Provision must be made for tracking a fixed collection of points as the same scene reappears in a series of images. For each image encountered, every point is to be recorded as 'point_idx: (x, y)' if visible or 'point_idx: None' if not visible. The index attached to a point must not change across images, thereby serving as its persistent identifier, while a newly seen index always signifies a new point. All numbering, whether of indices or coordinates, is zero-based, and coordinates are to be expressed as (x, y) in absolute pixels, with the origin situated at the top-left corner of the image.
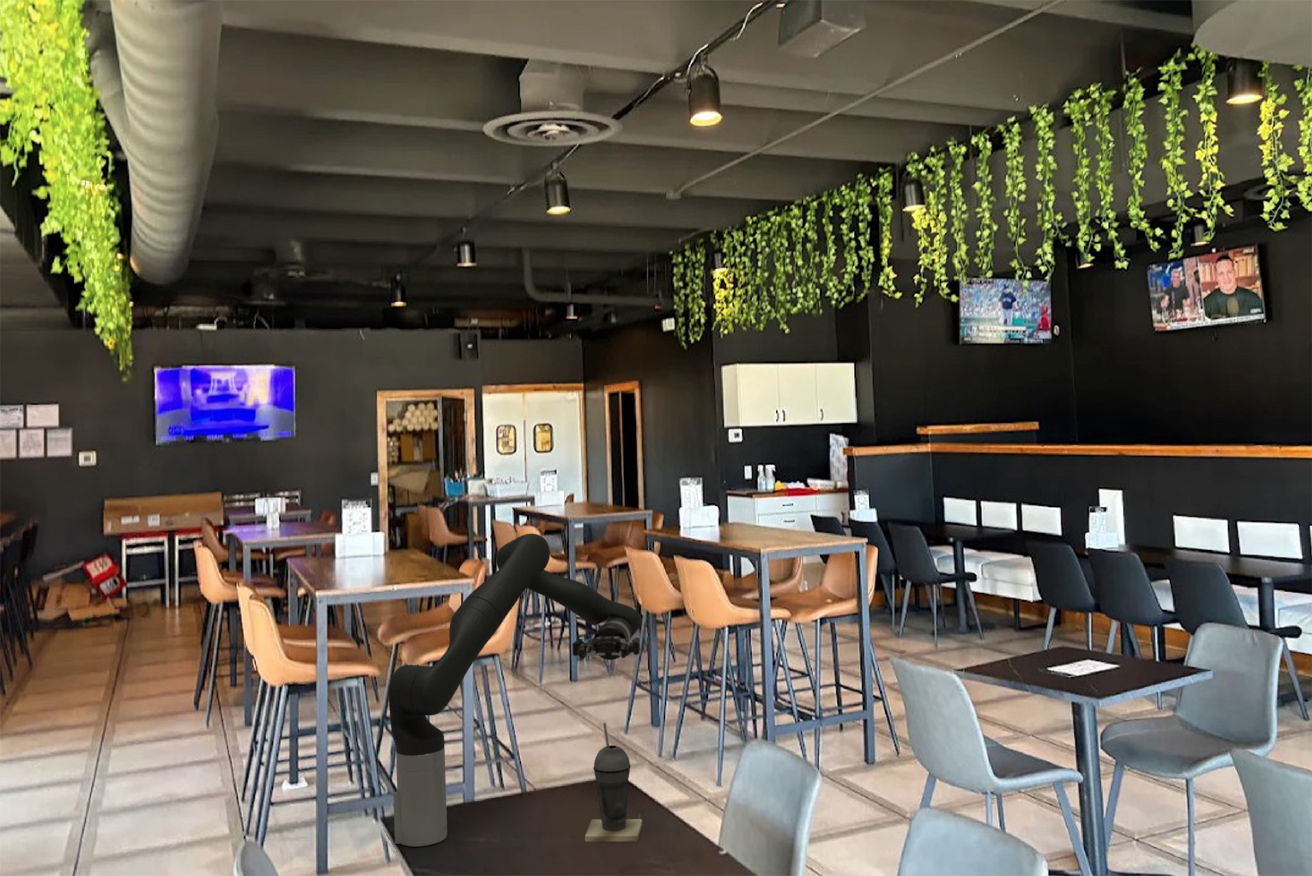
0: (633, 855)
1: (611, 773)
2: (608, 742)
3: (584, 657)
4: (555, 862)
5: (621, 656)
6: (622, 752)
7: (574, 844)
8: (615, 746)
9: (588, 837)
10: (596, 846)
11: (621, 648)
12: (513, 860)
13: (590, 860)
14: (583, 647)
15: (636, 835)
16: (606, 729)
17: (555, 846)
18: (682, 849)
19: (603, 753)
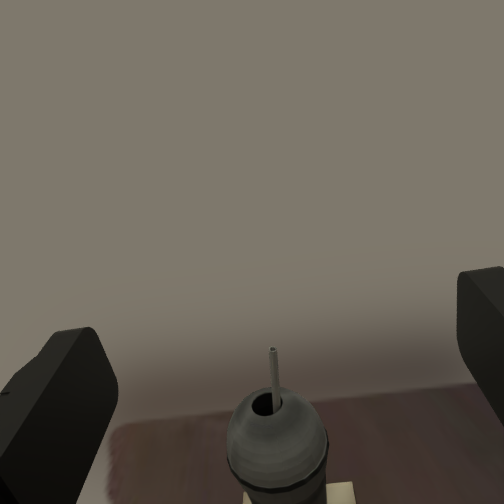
0: None
1: (272, 408)
2: (272, 393)
3: (471, 366)
4: (372, 403)
5: (115, 380)
6: (237, 407)
7: (370, 475)
8: (257, 423)
9: (344, 483)
10: None
11: (88, 327)
12: (449, 401)
13: None
14: (494, 290)
15: (245, 495)
16: (270, 363)
17: (404, 462)
18: (166, 471)
19: (287, 389)
